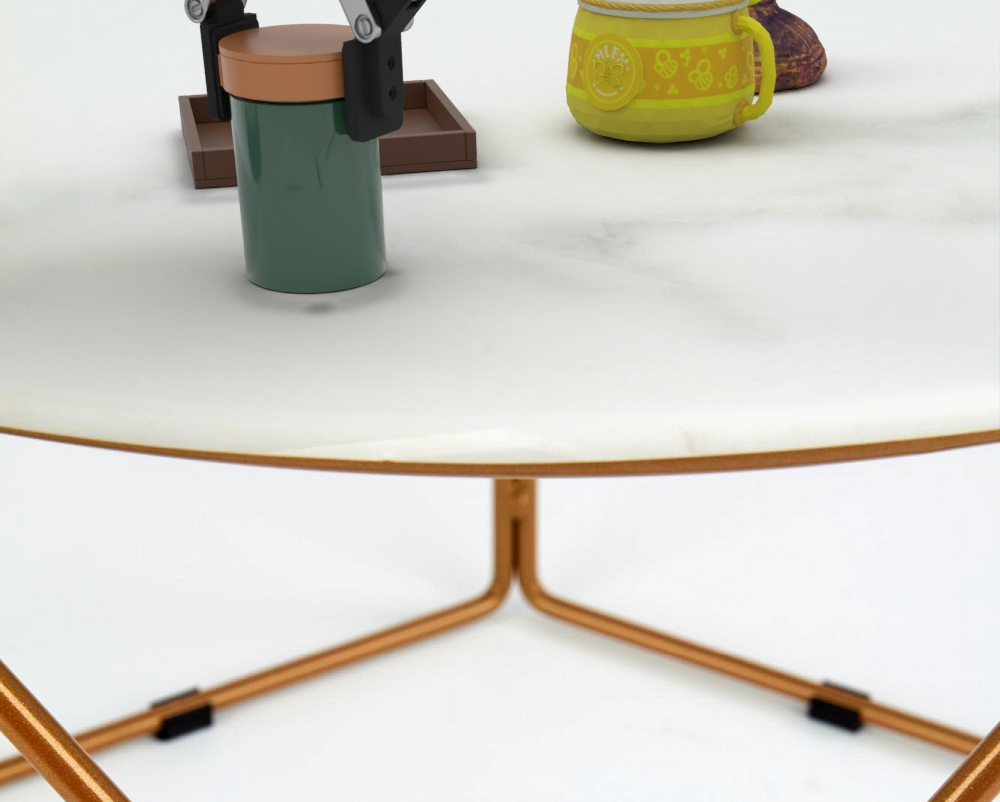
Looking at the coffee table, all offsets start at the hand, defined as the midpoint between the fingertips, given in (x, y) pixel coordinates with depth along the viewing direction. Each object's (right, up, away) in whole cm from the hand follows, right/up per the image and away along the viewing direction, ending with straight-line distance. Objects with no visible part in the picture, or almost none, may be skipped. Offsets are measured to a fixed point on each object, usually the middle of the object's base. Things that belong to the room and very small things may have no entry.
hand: (305, 121), depth 75 cm
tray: (-2, +7, +22) cm, 23 cm away
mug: (+18, +8, +24) cm, 31 cm away
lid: (0, +3, -2) cm, 3 cm away
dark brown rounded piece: (+24, +16, +36) cm, 46 cm away
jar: (0, -6, +4) cm, 7 cm away
